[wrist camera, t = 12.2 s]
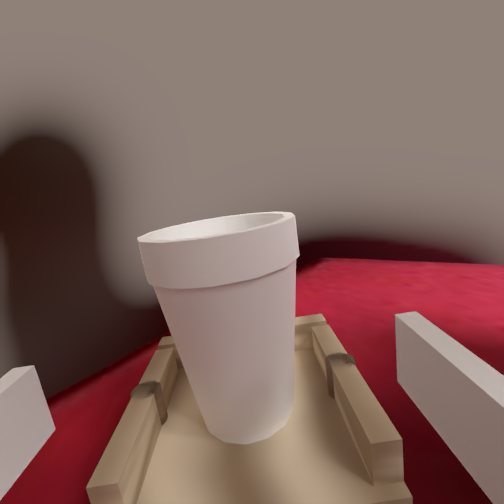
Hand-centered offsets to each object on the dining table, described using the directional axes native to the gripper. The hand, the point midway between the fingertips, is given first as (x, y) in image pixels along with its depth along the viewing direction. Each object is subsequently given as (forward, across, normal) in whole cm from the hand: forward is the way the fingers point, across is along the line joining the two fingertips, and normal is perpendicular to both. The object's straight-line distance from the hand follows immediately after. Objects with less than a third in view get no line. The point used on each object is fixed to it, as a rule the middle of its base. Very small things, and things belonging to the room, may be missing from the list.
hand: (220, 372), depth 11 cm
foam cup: (+9, 0, -9) cm, 12 cm away
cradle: (+9, 0, -10) cm, 13 cm away
